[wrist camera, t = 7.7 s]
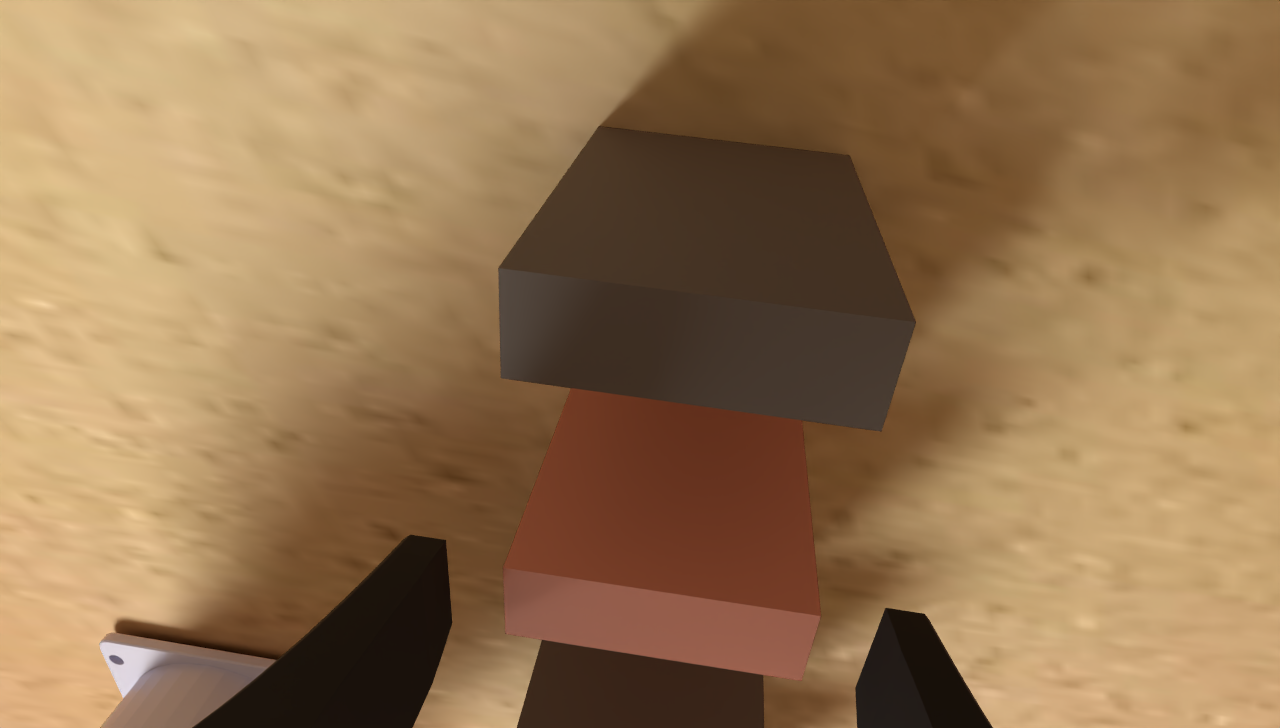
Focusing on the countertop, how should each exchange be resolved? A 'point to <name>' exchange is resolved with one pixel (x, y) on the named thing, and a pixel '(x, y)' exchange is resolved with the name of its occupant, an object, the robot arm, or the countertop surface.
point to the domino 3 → (636, 692)
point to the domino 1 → (708, 282)
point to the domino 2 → (669, 537)
